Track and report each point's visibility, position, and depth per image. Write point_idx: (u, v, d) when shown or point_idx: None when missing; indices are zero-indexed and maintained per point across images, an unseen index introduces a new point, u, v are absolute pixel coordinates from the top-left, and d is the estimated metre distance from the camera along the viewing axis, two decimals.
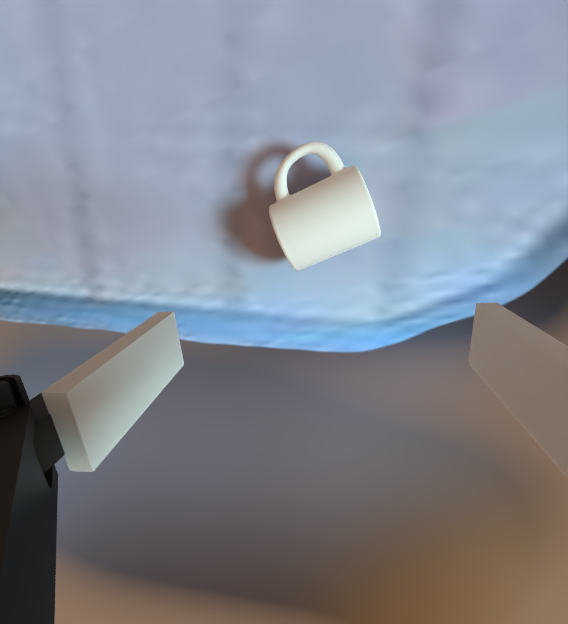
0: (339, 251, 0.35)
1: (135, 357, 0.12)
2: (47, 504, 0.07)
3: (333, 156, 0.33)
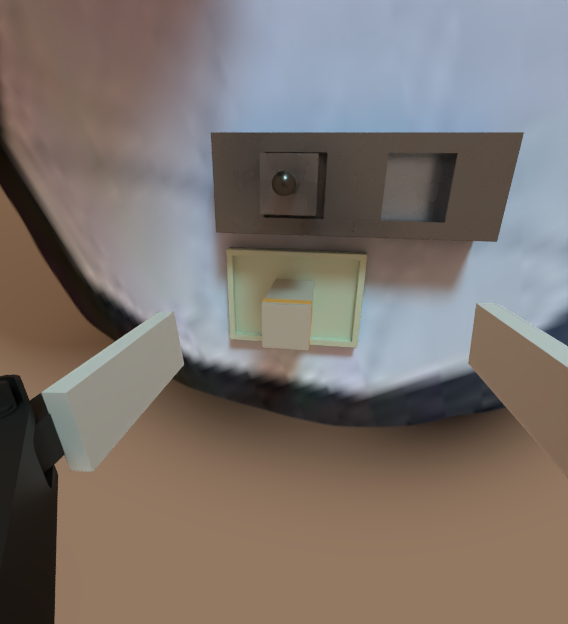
0: None
1: (135, 357, 0.12)
2: (47, 504, 0.07)
3: None
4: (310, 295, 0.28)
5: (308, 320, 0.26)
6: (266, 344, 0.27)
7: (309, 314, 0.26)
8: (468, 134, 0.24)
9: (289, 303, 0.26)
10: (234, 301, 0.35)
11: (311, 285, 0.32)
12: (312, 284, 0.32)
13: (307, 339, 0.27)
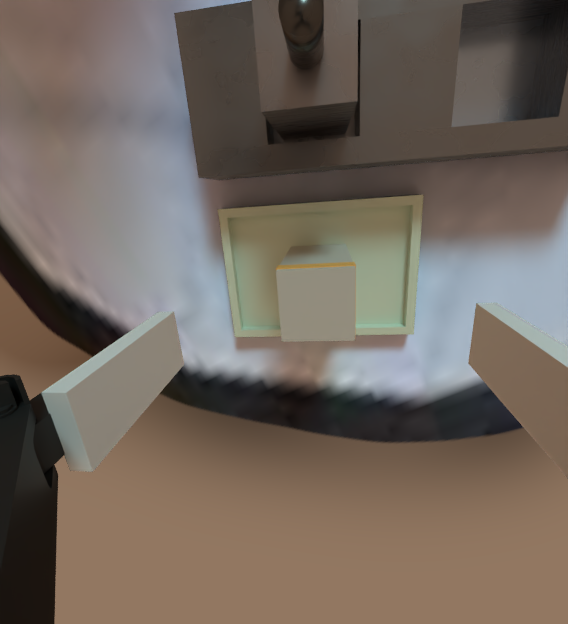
0: None
1: (135, 357, 0.12)
2: (47, 504, 0.07)
3: None
4: (348, 257, 0.19)
5: (352, 292, 0.16)
6: (288, 336, 0.18)
7: (353, 282, 0.16)
8: None
9: (319, 267, 0.16)
10: (236, 284, 0.25)
11: (344, 247, 0.22)
12: (345, 247, 0.22)
13: (352, 323, 0.17)
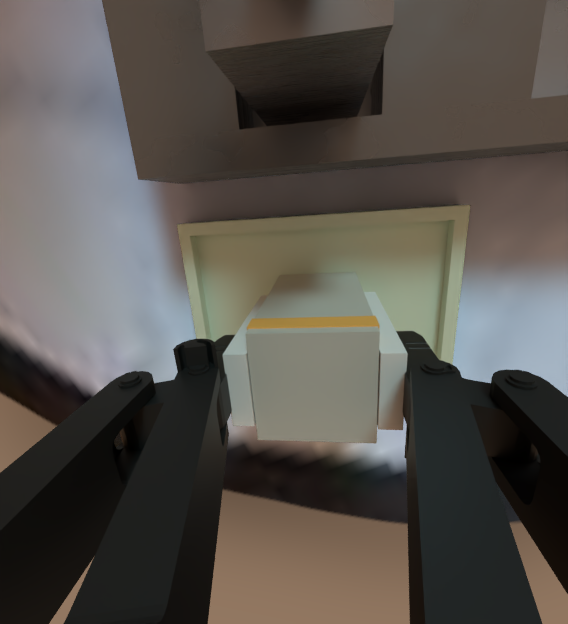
0: None
1: None
2: (219, 461, 0.08)
3: None
4: (363, 302, 0.12)
5: (373, 370, 0.10)
6: (267, 432, 0.11)
7: (376, 354, 0.10)
8: None
9: (318, 328, 0.10)
10: (206, 324, 0.18)
11: (354, 280, 0.15)
12: (355, 278, 0.15)
13: (372, 417, 0.10)
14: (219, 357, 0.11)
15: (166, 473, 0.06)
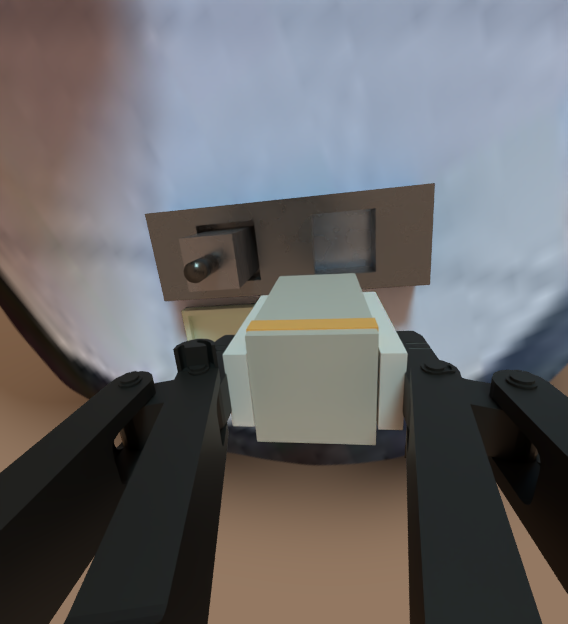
0: None
1: None
2: (219, 461, 0.08)
3: None
4: (362, 304, 0.12)
5: (372, 372, 0.10)
6: (267, 433, 0.11)
7: (375, 356, 0.10)
8: (382, 190, 0.25)
9: (317, 330, 0.10)
10: None
11: (354, 282, 0.15)
12: (355, 280, 0.15)
13: (371, 419, 0.10)
14: (219, 357, 0.11)
15: (166, 473, 0.06)
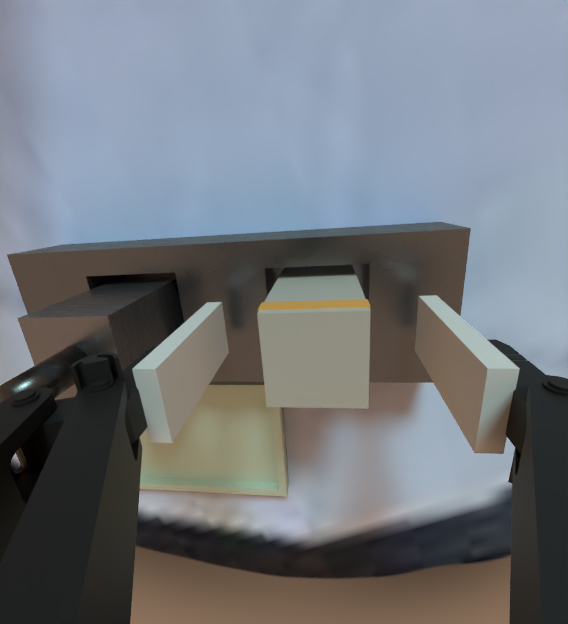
0: None
1: (197, 342, 0.13)
2: (132, 476, 0.08)
3: None
4: (358, 289, 0.14)
5: (365, 344, 0.12)
6: (275, 400, 0.13)
7: (367, 330, 0.11)
8: (381, 236, 0.15)
9: (319, 309, 0.12)
10: None
11: (351, 272, 0.17)
12: (352, 270, 0.17)
13: (364, 385, 0.12)
14: None
15: (68, 494, 0.06)
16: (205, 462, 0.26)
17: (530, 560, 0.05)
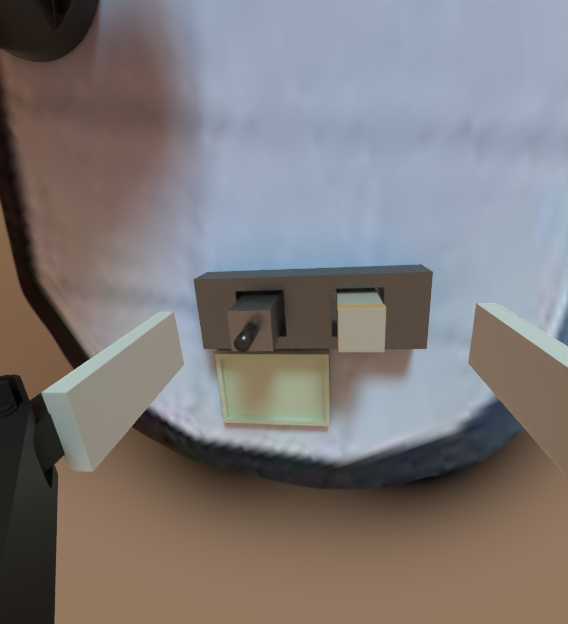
0: None
1: (135, 357, 0.12)
2: (47, 504, 0.07)
3: None
4: (379, 299, 0.30)
5: (383, 323, 0.28)
6: (342, 348, 0.29)
7: (384, 317, 0.27)
8: (390, 274, 0.31)
9: (364, 308, 0.28)
10: (224, 392, 0.42)
11: (374, 291, 0.33)
12: (374, 290, 0.33)
13: (383, 341, 0.28)
14: None
15: None
16: (278, 405, 0.42)
17: None
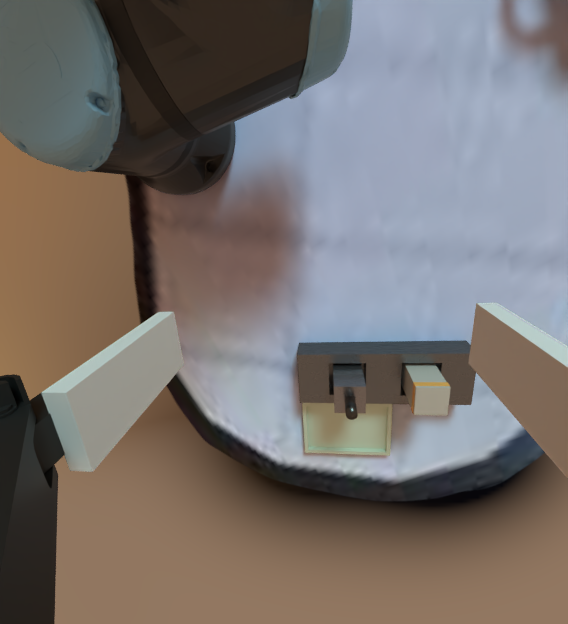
0: None
1: (135, 357, 0.12)
2: (47, 504, 0.07)
3: None
4: (441, 375, 0.42)
5: (448, 396, 0.39)
6: (417, 412, 0.41)
7: (449, 393, 0.39)
8: (447, 354, 0.43)
9: (434, 386, 0.39)
10: (307, 430, 0.54)
11: (433, 363, 0.45)
12: None
13: (446, 408, 0.40)
14: None
15: None
16: (349, 439, 0.54)
17: None
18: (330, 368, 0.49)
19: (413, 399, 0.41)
